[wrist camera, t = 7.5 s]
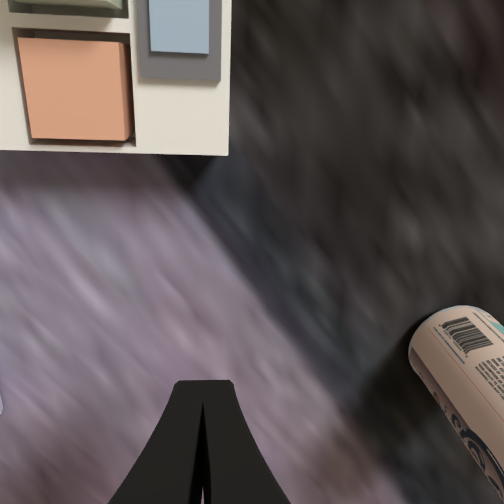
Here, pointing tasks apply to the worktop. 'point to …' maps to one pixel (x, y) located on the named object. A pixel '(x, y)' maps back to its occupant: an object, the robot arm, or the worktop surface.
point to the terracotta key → (78, 88)
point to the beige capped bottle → (466, 380)
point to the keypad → (133, 72)
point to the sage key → (77, 3)
